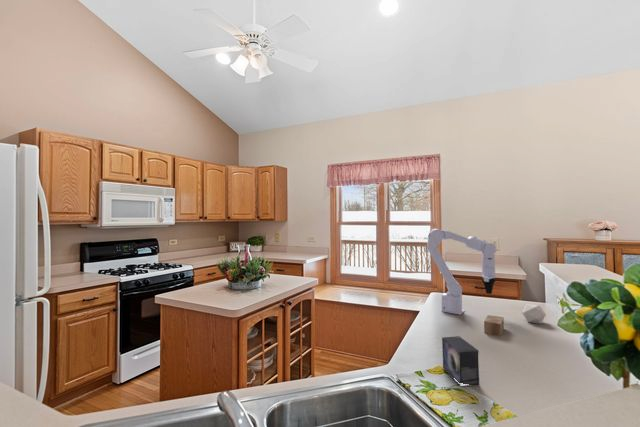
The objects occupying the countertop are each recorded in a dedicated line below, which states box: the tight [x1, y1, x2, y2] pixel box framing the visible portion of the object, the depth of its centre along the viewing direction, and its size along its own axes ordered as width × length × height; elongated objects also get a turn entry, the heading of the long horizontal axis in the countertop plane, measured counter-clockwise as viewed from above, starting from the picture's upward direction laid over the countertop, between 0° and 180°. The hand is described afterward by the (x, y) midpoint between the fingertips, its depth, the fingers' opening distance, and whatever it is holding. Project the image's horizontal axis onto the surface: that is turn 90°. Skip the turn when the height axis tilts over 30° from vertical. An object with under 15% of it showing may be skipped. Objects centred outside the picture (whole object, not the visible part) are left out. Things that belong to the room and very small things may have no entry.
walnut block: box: [483, 314, 505, 337], centre depth 126 cm, size 6×5×10 cm
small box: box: [441, 335, 480, 386], centre depth 91 cm, size 11×6×10 cm, turn 5°
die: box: [521, 303, 547, 325], centre depth 136 cm, size 8×9×10 cm
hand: (489, 293), depth 147 cm, fingers closed
